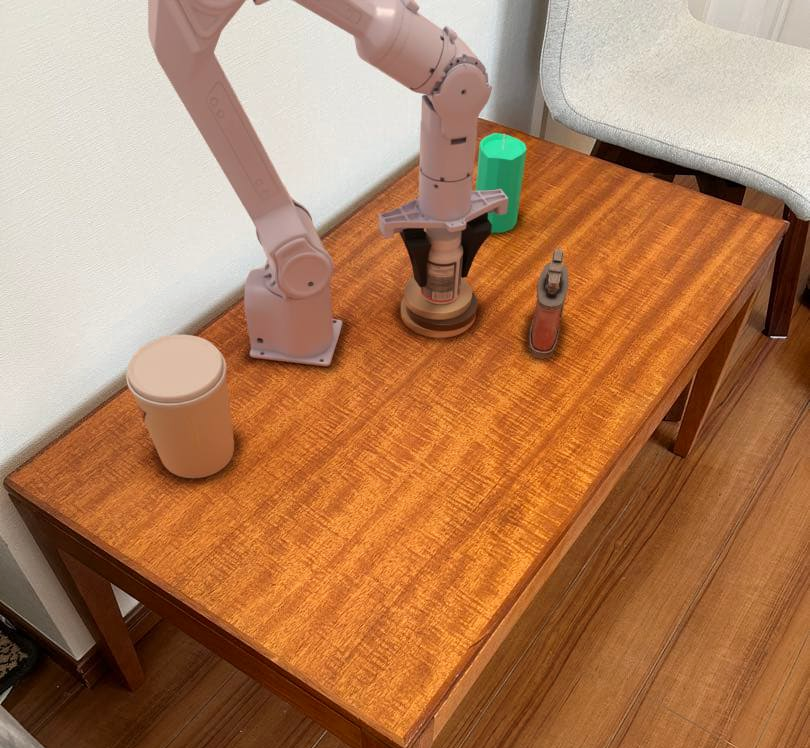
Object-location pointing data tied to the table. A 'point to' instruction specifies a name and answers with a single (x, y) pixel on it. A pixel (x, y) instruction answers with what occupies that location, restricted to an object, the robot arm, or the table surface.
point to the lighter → (549, 306)
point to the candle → (502, 175)
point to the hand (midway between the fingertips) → (440, 277)
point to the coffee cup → (184, 403)
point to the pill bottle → (443, 266)
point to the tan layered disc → (438, 312)
